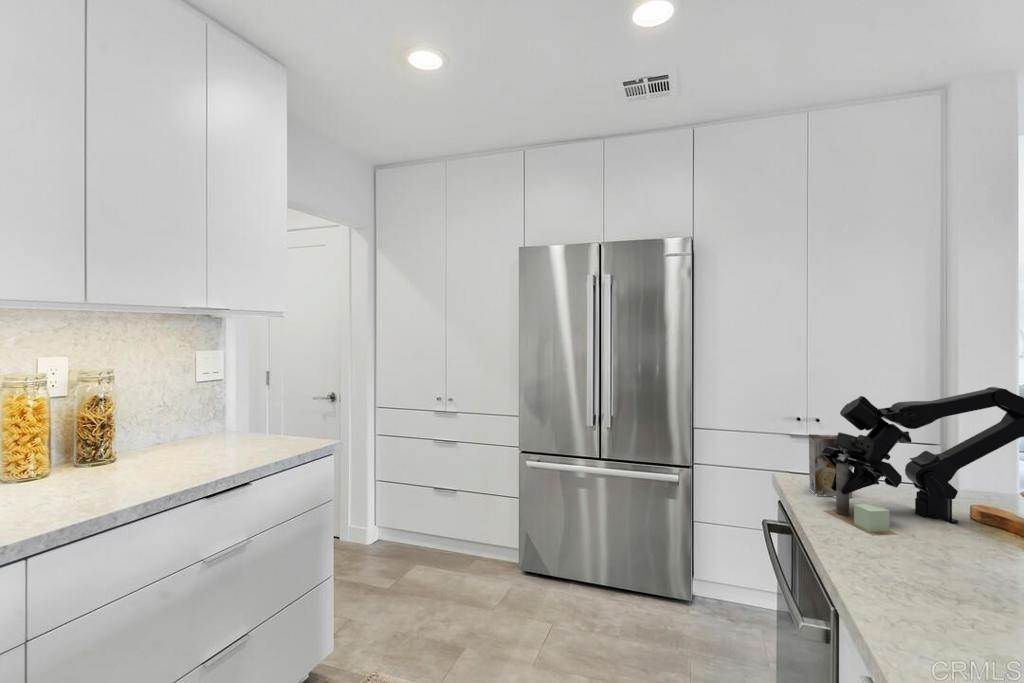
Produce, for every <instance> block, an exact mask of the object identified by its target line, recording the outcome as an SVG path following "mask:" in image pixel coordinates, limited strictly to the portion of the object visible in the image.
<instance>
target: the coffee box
mask: <svg viewBox="0 0 1024 683" xmlns="http://www.w3.org/2000/svg"><path fill="white" fill-rule="evenodd" d="M837 435H838V434H837ZM837 435H836V434H835V435H834V434H811V433H809V434H808V464H809V465H808V470H809V490H810V489H811V490H812V491H813V492H814V494H817V495H826V496H836V491H833V490H832V488H831V487H832V483H833V480H834V476H835V473H836V468H835V467H834V466H833V465H832V464H831V463H830V462H829V461H828V460H827V459H826V458H825V457H824V456H823V455H822V454H821V452H822V451H823V450H824V449H825V448H826V447H832V448H836V449H840V450H841V451H842V452H843V453H844V454H845V455H846V456H847V457H849V458H850V455H849V454H847V453H846V452H845V450H846V449H845V448H843V447H841V446H839V445H838V446H837V445H835V444H834V442H835V440H836V437H837ZM811 490H810V491H811ZM814 494H813V495H814ZM826 496H825V497H826ZM852 498H853V492H851V493H849V499H852Z"/></svg>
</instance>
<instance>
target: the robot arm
mask: <svg viewBox="0 0 1024 683" xmlns="http://www.w3.org/2000/svg"><path fill="white" fill-rule="evenodd" d="M994 407H997V408H998V409H1001V411H1003V412H1005V414H1004V416H1003V417H1002V418H1001V420H1000V421H998V422H997V423H995V424H993V425H992V426H991V425H990V427H987V428H986V429H984V430H981V432H978V433H977V434H975V435H973V436H970V437H969V438H967V439H966V440H964V441H961V442H960V443H958V444H956V445H954V446H952V447H950V448H949V449H947V450H945V451H943V452H941V453H937V454H935V453H932V452H930V451H928V450H924V451H922V452H921V453H920V454H918V455H917V456H914V457H910V458H909V460H911V461H909V462H907V464H906V465H905V469H904V472H905V476H906V477H907V479H908V480H910V481H911V482H912V484H913V486H914V488H916V489H918V491H916V497H915V499H914V500H915V501H914V502H915V505H914V513H915V515H917V516H919V517H922V518H924V519H935V520H941V521H944V522H947V523H949V524H957V523H959V520H958V519H956V518H953V500H955V499H956V497H957V495H958V493H959V491H958V489H956V488H955V487H954V486H953V485H952V484H950V483H949V482H950V481H951V480H952V479H953V478H954V476H955V475H956V473H957V472H958V471H959V470H960V469H962V468H964V467H966V466H969V465H970V464H971V463H972V464H973V463H974V462H975V461H978V460H980V459H981V458H983V457H985V456H987V455H989V454H991V453H992V452H995V451H997V450H999V449H1000V448H1002V447H1004V446H1007V445H1008V444H1010V443H1012V442H1014V441H1016V440H1018V439H1020V438H1024V396H1021V395H1018V394H1015V393H1013V392H1012V391H1010V390H1008V389H1006V388H1000V387H997V386H991V387H986V388H984V389H980V390H975V391H971V392H966V393H963V394H958V395H957V394H956V395H952V396H948V397H943V398H938V399H934V400H917V401H916V400H913V401H910V400H909V401H898V402H895V403H893V404H892V405H891V406H889V407H883V408H882V407H881V408H878V407H876V406H875V405H874V404H873V403H871V402H870V401H869V399H867V397H865V396H863V395H860V396H859V397H857V398H856V399H854V400H851V401H850V402H849V403H846V404H845V405H844V406H843V407H842V408H841V410H840V411H839V412H840V413H839V415H840V416H841V417H843V418H844V419H845V420H846V421H847V422H849V423H850V424H851V425H853V426H854V427H855V428H857V430H858V431H864V430H865V431H869V432H868V433H867V434H866V435H863V434H859V435H857V436H855V435H851V434H848V433H843V432H840V431H839V432H838V433H837V437H836V440H835V442H834V444H835V445H837V446H838V445H839V446H841V447H843V448H845V449H846V450H845V452H846V453H847V454H849V455H850V458H849V457H847V456H846V455H845V454H844V453H843V452H842V451H841V450H840V449H836V448H832V447H826V448H825V449H824V450H823V451H822V452H821V454H822V455H823V456H824V457H825V458H826V459H827V460H828V461H829V462H830V463H831V464H832V465H833V466H834V467H835V468H836V464H837V463H842V464H848V465H849V480H848V481H847V483H846V484H845V485H844V487H843V488H842V490H841V493H842V494H844V495H845V494H848V493H851V492H852V493H854V492H855V491H858V490H861V489H864V488H867V487H871V486H874V485H879V484H880V482H879V480H880V479H881V478H883V477H884V484H886V486H889V487H893V488H896V489H898V486H900V484H901V483H902V481H903V478H902V475H901V474H900V473H899V472H898V471H897V470H896V468H894V466H893V465H892V464H891V463H890V462H886V461H883V460H887V461H889V460H890V458H891V455H890V454H889V453H890V452H891V451H892V450H893V448H894V447H895V446H896V445H897V444H898V443H901V444H906V443H907V444H908V443H909V444H910V443H912V438H911V436H910V432H909V431H903V430H902V429H901V428H899V427H898V426H897V425H899V426H901V427H903V428H906V429H908V430H909V429H910V430H916V429H917V430H918V429H919V428H923V427H924V426H925V427H926V426H927V425H931V424H932V423H934V422H935V421H937V420H940V419H942V418H946V417H950V416H955V415H961V414H965V413H970V412H974V411H979V410H984V409H989V408H994ZM887 421H889V422H892V423H889V422H887ZM831 488H832V490H833V491H836V473H835V476H834V480H833V483H832V487H831Z"/></svg>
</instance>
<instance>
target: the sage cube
mask: <svg viewBox="0 0 1024 683" xmlns="http://www.w3.org/2000/svg"><path fill="white" fill-rule="evenodd" d="M853 510H854V511H853V513H854V525H856V526H858V527H860V528H862V529H864V530H866V531H868V532H887V531H889V530H890V510H889V509H886V508H884V507H882V506H880V505H877V504H875V503H860V504H859V503H857V504H856V503H855V504H854V505H853Z"/></svg>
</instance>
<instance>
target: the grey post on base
mask: <svg viewBox="0 0 1024 683" xmlns="http://www.w3.org/2000/svg"><path fill="white" fill-rule="evenodd" d="M848 480H849V465H848V464H842V463H837V464H836V497H835V499H836V500H835V501H836V503H835V504H836V509H827V510H826V509H825V510H822V511H823V512H825V513H827V514H829V516H830V515H831V516H833V517H835V518H837V519H839V520H841V521H843V522H844V523H846V524H849V525H851V526H852V527H855V528H857V529H859V530H860V531H863V532H865V533H866V534H868V535H871V536H872V537H873V536H892V535H893V536H894V535H895V536H896V535H899V534H898V533H897V532H895V531H893V530H890V529H889V531H887V532H868V531H866V530H864V529H862V528H860V527H858V526H856V525H854V512H852V511H850V498H849V493H848V494H845V495H844V494H842V493H841V490H842V488H843V487H844V485H845V484H846V483H847V481H848Z"/></svg>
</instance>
